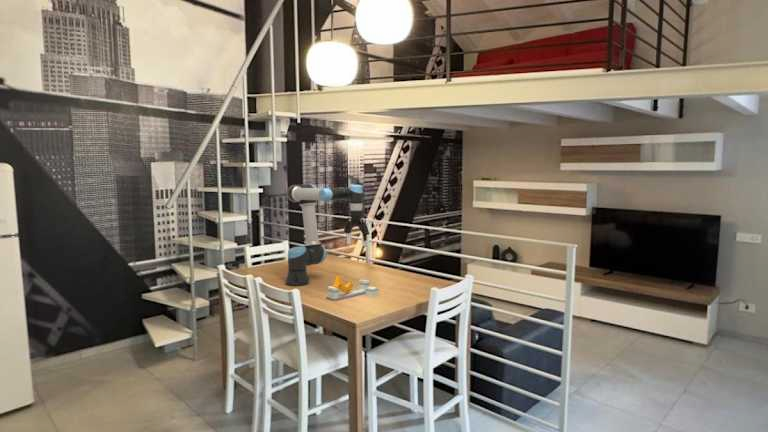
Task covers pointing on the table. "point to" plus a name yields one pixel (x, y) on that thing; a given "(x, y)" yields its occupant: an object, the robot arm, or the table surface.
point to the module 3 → (372, 292)
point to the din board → (348, 295)
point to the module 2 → (364, 284)
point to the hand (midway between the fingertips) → (356, 245)
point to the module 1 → (332, 292)
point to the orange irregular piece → (342, 285)
